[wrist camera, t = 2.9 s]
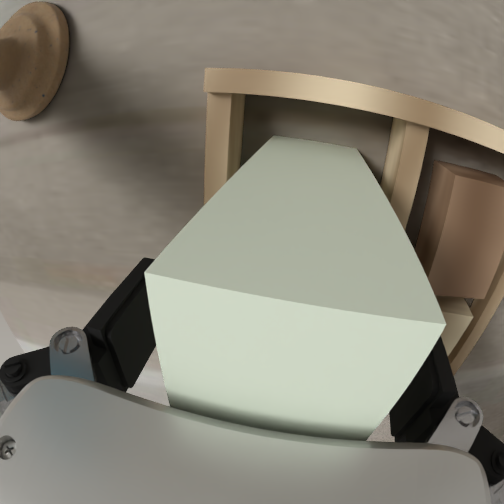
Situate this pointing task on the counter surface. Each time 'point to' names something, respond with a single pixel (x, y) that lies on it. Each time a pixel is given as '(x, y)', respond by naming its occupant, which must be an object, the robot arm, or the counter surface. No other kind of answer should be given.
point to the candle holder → (32, 59)
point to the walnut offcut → (461, 231)
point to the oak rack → (397, 159)
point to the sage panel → (293, 298)
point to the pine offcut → (453, 319)
